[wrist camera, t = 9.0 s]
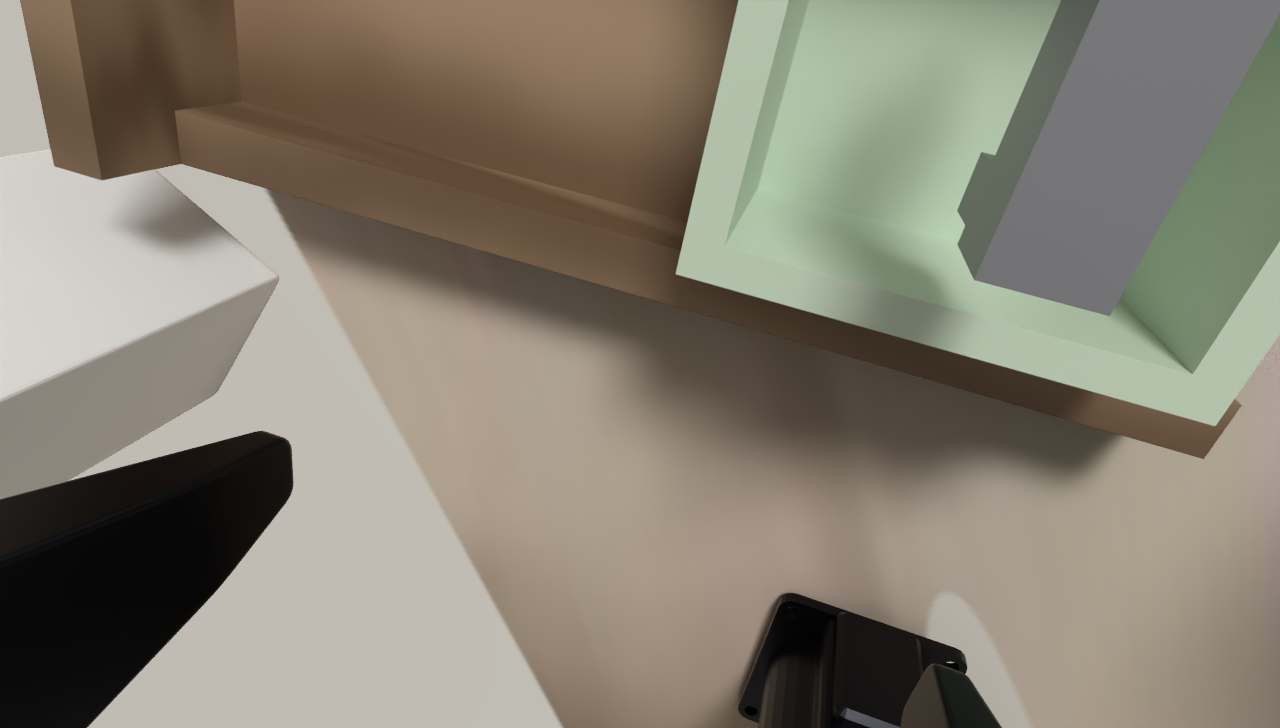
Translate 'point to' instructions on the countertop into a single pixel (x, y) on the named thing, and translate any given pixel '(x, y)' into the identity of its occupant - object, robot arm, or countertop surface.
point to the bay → (470, 141)
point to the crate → (1010, 183)
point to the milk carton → (109, 314)
